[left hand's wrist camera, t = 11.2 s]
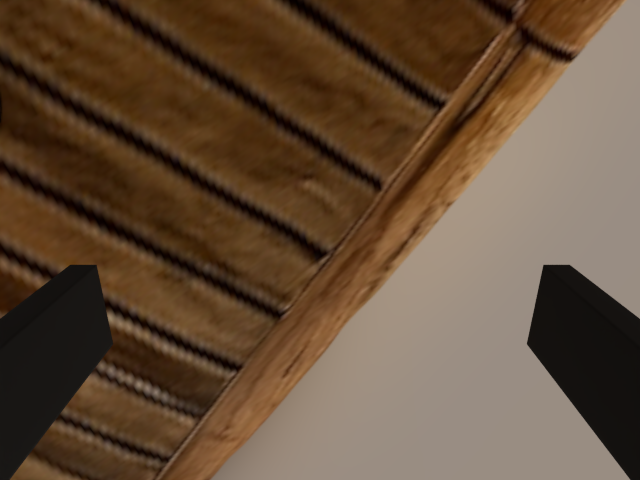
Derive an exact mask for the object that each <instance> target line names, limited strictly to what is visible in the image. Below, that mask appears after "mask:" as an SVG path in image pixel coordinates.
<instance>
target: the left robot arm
mask: <svg viewBox="0 0 640 480" xmlns="http://www.w3.org/2000/svg"><path fill="white" fill-rule="evenodd" d="M0 121H1V102H0ZM112 345H113V341H112V337H111V332H110V327H109V322H108V317H107V313H106V308H105V303H104V298H103V294H102V289H101V284H100V279H99V275H98V270H97V265H70V266H68V267H67V268H66V269H64V270H63V271H62V272H61V273H59V274H58V275H57V276H55V277H54V278H53V279H51V280H50V281H49V282H48V283H46V284H45V285H44V286H42V287H41V288H40V289H38V290H37V291H36V292H35V293H33V294H32V295H31V296H29V297H28V298H27V299H25V300H24V301H23V302H22V303H20V304H19V305H18V306H16V307H15V308H14V309H12V310H11V311H10V312H9V313H7V314H6V315H5V316H3V317H2V318H1V319H0V480H10V478H11V477H12V476H13V474H14V473H15V472H16V471H17V469H18V468H19V467H20V465H21V464H22V463H23V461H24V460H25V459H26V457H27V456H28V455H29V453H30V452H31V451H32V450H33V448H34V447H35V446H36V444H37V443H38V442H39V440H40V439H41V438H42V436H43V435H44V434H45V433H46V431H47V430H48V429H49V427H50V426H51V425H52V423H53V422H54V421H55V419H56V418H57V417H58V416H59V414H60V413H61V412H62V410H63V409H64V408H65V406H66V405H67V404H68V402H69V401H70V400H71V398H72V397H73V396H74V395H75V393H76V392H77V391H78V389H79V388H80V387H81V385H82V384H83V383H84V381H85V380H86V379H87V378H88V376H89V375H90V374H91V372H92V371H93V370H94V368H95V367H96V366H97V364H98V363H99V362H100V360H101V359H102V358H103V357H104V355H105V354H106V353H107V351H108V350H109V349H110V347H111V346H112ZM527 345H528V346H529V347H530V349H531V350H532V351H533V353H534V354H535V355H536V357H537V358H538V359H539V360H540V362H541V363H542V364H543V366H544V367H545V368H546V370H547V371H548V372H549V374H550V375H551V376H552V378H553V379H554V380H555V381H556V383H557V384H558V385H559V387H560V388H561V389H562V391H563V392H564V393H565V395H566V396H567V397H568V398H569V400H570V401H571V402H572V404H573V405H574V406H575V408H576V409H577V410H578V412H579V413H580V414H581V416H582V417H583V418H584V419H585V421H586V422H587V423H588V425H589V426H590V427H591V429H592V430H593V431H594V433H595V434H596V435H597V436H598V438H599V439H600V440H601V442H602V443H603V444H604V446H605V447H606V448H607V450H608V451H609V452H610V453H611V455H612V456H613V457H614V459H615V460H616V461H617V463H618V464H619V465H620V467H621V468H622V469H623V470H624V472H625V473H626V474H627V476H628V477H629V478H630V480H640V319H639V318H638V317H637V316H635V315H634V314H633V313H631V312H630V311H629V310H628V309H626V308H625V307H624V306H622V305H621V304H620V303H618V302H617V301H616V300H615V299H613V298H612V297H611V296H609V295H608V294H607V293H605V292H604V291H603V290H601V289H600V288H599V287H598V286H596V285H595V284H594V283H592V282H591V281H590V280H589V279H587V278H586V277H585V276H583V275H582V274H581V273H579V272H578V271H577V270H576V269H574V268H573V267H572V266H570V265H543V270H542V275H541V279H540V284H539V289H538V294H537V299H536V303H535V308H534V313H533V317H532V322H531V327H530V332H529V337H528V341H527Z"/></svg>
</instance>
